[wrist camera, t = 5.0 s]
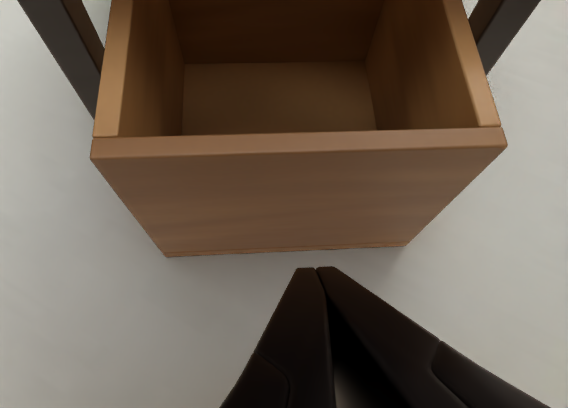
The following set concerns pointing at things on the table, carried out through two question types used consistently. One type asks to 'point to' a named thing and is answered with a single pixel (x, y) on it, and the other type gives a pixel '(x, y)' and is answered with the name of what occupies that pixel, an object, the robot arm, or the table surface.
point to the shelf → (90, 52)
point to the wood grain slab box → (290, 120)
